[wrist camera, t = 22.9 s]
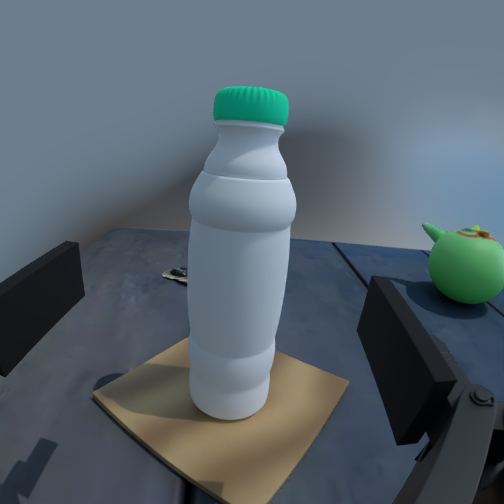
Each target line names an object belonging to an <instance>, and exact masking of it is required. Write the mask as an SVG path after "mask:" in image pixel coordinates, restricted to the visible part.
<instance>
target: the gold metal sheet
mask: <svg viewBox="0 0 504 504" xmlns="http://www.w3.org/2000/svg"><path fill="white" fill-rule="evenodd" d="M188 341H189V337H187V338H185V339H184V340H182V341H180V342H179V343H177V344H175V345H174V346H172V347H170V348H169V349H167V350H165V351H164V352H162V353H160V354H158V355H157V356H155V357H153V358H152V359H150V360H148V361H147V362H145V363H143V364H141V365H140V366H138V367H136V368H134V369H133V370H131V371H129V372H128V373H126V374H124V375H122V376H121V377H119V378H117V379H115V380H113V381H112V382H110V383H108V384H106V385H105V386H103V387H101V388H99V389H97V390H96V391H94V392H92V394H93V397H94V399H95V400H96V402H97V403H98V404H99V405H100V406H101V407H102V408H103V409H104V410H105V411H106V412H107V413H108V414H109V415H110V416H111V417H113V418H114V419H115V420H116V421H117V422H118V423H119V424H120V425H121V426H122V427H123V428H124V429H125V430H126V431H127V432H129V433H130V434H131V435H132V436H133V437H134V438H135V439H136V440H138V441H139V442H140V443H141V444H142V445H143V446H145V447H146V448H147V449H148V450H149V451H150V452H152V453H153V454H154V455H155V456H157V457H158V458H159V459H160V460H162V461H163V462H164V463H165V464H167V465H168V466H169V467H171V468H172V469H173V470H175V471H176V472H177V473H179V474H180V475H181V476H183V477H184V478H185V479H187V480H188V481H190V482H191V483H192V484H194V485H195V486H197V487H198V488H200V489H201V490H203V491H204V492H206V493H207V494H209V495H210V496H212V497H213V498H215V499H216V500H218V501H220V502H221V503H223V504H268V503H269V502H270V501H271V499H272V498H273V497H274V496H275V494H276V493H277V492H278V491H279V489H280V488H281V487H282V486H283V484H284V483H285V482H286V480H287V479H288V478H289V476H290V475H291V474H292V472H293V471H294V470H295V468H296V467H297V465H298V464H299V463H300V461H301V460H302V458H303V457H304V456H305V454H306V453H307V451H308V450H309V448H310V447H311V445H312V444H313V443H314V441H315V440H316V438H317V437H318V435H319V433H320V432H321V430H322V429H323V427H324V426H325V424H326V423H327V421H328V419H329V418H330V416H331V415H332V413H333V411H334V410H335V408H336V406H337V405H338V403H339V401H340V400H341V398H342V396H343V395H344V393H345V391H346V389H347V388H348V385H349V383H350V381H348V380H346V379H343V378H341V377H338V376H336V375H333V374H331V373H328V372H326V371H323V370H321V369H318V368H316V367H313V366H311V365H308V364H306V363H304V362H301V361H299V360H297V359H294V358H292V357H290V356H287V355H285V354H283V353H280V352H278V351H276V350H275V353H274V359H273V364H272V367H271V370H270V381H269V390H268V395H267V399H266V401H265V403H264V405H263V406H262V408H261V409H260V410H259V411H257V412H256V413H255V414H253V415H251V416H249V417H246V418H242V419H237V420H224V419H219V418H215V417H212V416H210V415H208V414H206V413H204V412H203V411H201V410H200V409H199V408H198V407H197V406H196V405H195V403H194V402H193V400H192V398H191V395H190V389H189V373H190V361H189V354H188Z"/></svg>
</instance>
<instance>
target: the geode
mask: <svg viewBox="0 0 504 504" xmlns="http://www.w3.org/2000/svg"><path fill="white" fill-rule="evenodd" d="M162 274H163V275H162V276H163V277H168V278H169V279H170V278H171V279H178V280H180V281H184V282H185V283H187V279H188V265H185V266H182V267H180V268H173V269H172V270H167V271H164V272H163V273H162Z"/></svg>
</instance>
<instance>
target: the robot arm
mask: <svg viewBox="0 0 504 504" xmlns="http://www.w3.org/2000/svg"><path fill="white" fill-rule="evenodd" d="M84 296H85V292H84V285H83V278H82V270H81V261H80V252H79V243H77V242H69V241H65V242H64V243H62V244H61V245H59V246H57V247H56V248H54V249H52V250H51V251H49V252H48V253H46V254H44V255H43V256H41V257H39V258H38V259H36V260H35V261H33V262H31V263H30V264H28V265H27V266H25V267H24V268H22V269H21V270H19V271H18V272H16V273H15V274H13V275H12V276H10V277H9V278H7V279H6V280H4V281H3V282H1V283H0V375H1V376H3V377H6V376H7V375H8V374H9V373H10V372H11V371H12V370H13V368H14V367H15V366H16V365H17V364H18V363H19V362H20V361H21V360H22V359H23V358H24V356H25V355H26V354H27V353H28V352H29V351H30V350H31V349H32V348H33V347H34V346H35V345H36V344H37V343H38V342H39V341H40V340H41V338H42V337H43V336H44V335H45V334H46V333H47V332H48V331H49V330H50V329H51V328H52V327H53V326H54V325H55V324H56V323H57V322H58V321H59V320H60V319H61V318H62V317H63V316H64V315H65V314H66V313H67V312H68V311H69V310H70V309H71V308H72V307H73V306H74V305H75V304H76V303H77V302H79V301H80V300H81V299H82V298H83V297H84ZM357 332H358V335H359V337H360V340H361V343H362V345H363V348H364V351H365V353H366V356H367V359H368V361H369V364H370V367H371V370H372V372H373V375H374V378H375V381H376V384H377V387H378V389H379V392H380V395H381V398H382V401H383V404H384V407H385V410H386V413H387V416H388V419H389V422H390V425H391V428H392V432H393V435H394V438H395V441H396V444H397V446H398V445H407V444H414V443H418V442H419V440H420V439H421V437H422V436H423V435H424V433H425V432H427V435H428V437H429V441H428V443H427V444H426V445H425V447H424V448H423V449H422V451H421V452H420V453H419V455H418V456H417V457H416V458H415V460H416V461H417V462H416V464H415V466H414V468H413V470H412V472H411V473H410V475H409V477H408V479H407V480H406V482H405V484H404V485H403V487H402V489H401V490H400V492H399V494H398V495H397V497H396V498H395V500H394V502H393V503H392V504H504V402H500V401H497V400H496V398H495V396H494V394H493V393H492V392H491V391H490V390H489V389H487V388H485V387H483V386H481V385H477V384H471V383H470V381H469V380H468V378H467V377H466V375H465V374H464V372H463V370H462V369H461V367H460V366H459V364H458V363H457V361H455V358H454V357H453V355H452V354H450V351H449V350H448V348H447V347H446V345H445V344H444V343H443V342H442V341H441V340H440V339H438V338H437V337H436V336H435V335H428V333H427V332H426V330H425V329H424V327H423V326H422V324H421V323H420V321H419V320H418V318H417V317H416V316H415V314H414V313H413V311H412V310H411V308H410V307H409V306H408V304H407V303H406V301H405V300H404V299H403V297H402V296H401V295H400V293H399V292H398V290H397V289H396V288H395V286H394V285H393V284H392V282H391V281H390V280H389V278H388V277H380V276H372V277H371V280H370V284H369V288H368V292H367V296H366V299H365V303H364V307H363V310H362V314H361V317H360V321H359V324H358V327H357Z"/></svg>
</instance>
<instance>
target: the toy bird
mask: <svg viewBox="0 0 504 504" xmlns="http://www.w3.org/2000/svg"><path fill="white" fill-rule="evenodd" d="M422 226H423V228H424V230H425V231H426V233H427V234H428V235H429V236H430V237H431V238H432V240H433V241H434V242H435V244H434V246H433V248H432V250H431V252H430V256H429V272H430V276H431V278H432V281H433V283H434V284H435V286H436V287H437V288H438V290H439V291H440V292H441V293H443V294H444V295H445V296H447V297H448V298H450V299H452V300H454V301H457V302H461V303H465V304H480V303H484V302H487V301H489V300H491V299H493V298H494V297H495V296H497V295H498V294H499V293H500V291H501V290H502V289H503V287H504V249H503V248H502V246H501V245H500V244H499V243H498V242H497V241H496V240H495V239H494V238H492V237H491V236H490V235H489V232H487V231H484V230H480V227H479V225H474V226H473V227H471V228H470V229H458V230H454V231H450V232H446V231H444V230H442V229H440V228H438V227H435V226H433V225H430V224H427V223H424V224H422Z"/></svg>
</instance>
